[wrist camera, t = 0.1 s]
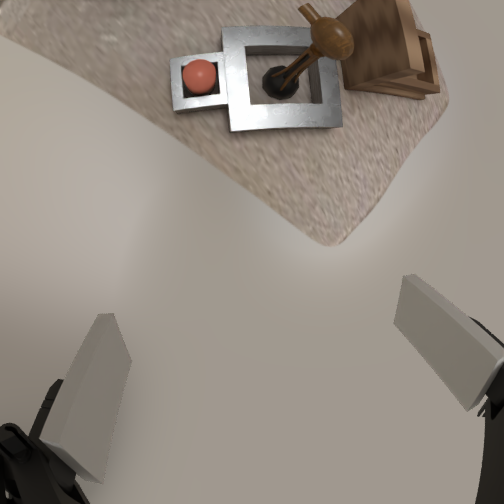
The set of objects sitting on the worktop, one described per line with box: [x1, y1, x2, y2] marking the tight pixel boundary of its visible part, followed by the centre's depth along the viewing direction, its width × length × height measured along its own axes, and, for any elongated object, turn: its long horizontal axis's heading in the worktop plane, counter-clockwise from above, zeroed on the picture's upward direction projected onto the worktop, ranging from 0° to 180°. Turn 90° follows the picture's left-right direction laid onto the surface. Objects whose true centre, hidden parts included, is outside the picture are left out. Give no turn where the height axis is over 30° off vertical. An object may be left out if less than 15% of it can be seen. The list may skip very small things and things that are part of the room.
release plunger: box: [183, 59, 216, 96], centre depth 28 cm, size 4×4×5 cm
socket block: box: [170, 26, 343, 133], centre depth 30 cm, size 14×20×4 cm
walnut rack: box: [336, 0, 440, 100], centre depth 25 cm, size 12×14×16 cm
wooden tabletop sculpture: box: [263, 3, 354, 100], centre depth 23 cm, size 6×5×20 cm
